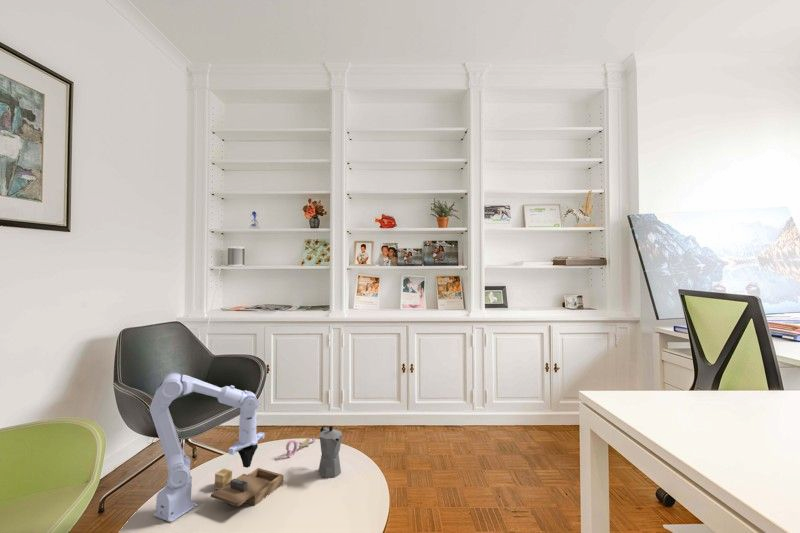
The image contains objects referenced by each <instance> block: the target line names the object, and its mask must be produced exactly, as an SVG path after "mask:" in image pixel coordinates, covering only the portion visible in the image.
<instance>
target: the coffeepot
mask: <svg viewBox="0 0 800 533" xmlns="http://www.w3.org/2000/svg"><path fill="white" fill-rule="evenodd" d="M342 433H343V432H342V430H339V429H336V428H334V426H332V425H329V426H328V427H325V426H324V425H323V426H321V428H320V430H319V435H318V436H319V442H320V452H321V455H320V459H319V460H320V461H319V466H318V476H320V477H321V478H323V479H331V478H333V479H334V478H335V477H338V476H339V475H341V473H342V470H341V463H340V462H341V461H340V460H341V459H340V451H341V444H342V440H343V439H342V438H343V434H342Z"/></svg>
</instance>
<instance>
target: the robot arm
mask: <svg viewBox="0 0 800 533" xmlns="http://www.w3.org/2000/svg"><path fill="white" fill-rule="evenodd" d="M158 383H159V384H158V386H157V389H156V391H155V393H154V396H153V398H152V401H151V403H150V406H149V412H150V415H151V418H152V421H153V424H154V427H155V430H156V433H157V436H158V439H159V442H160V446H161V448H162V452H163V454H164V457H165V460H166V470H167V472H168V475H167V481H166V484H165V486H164V487H163V488H162V489H161V490H160V491H159V492H157V494H156V499H155V500H156V502H155V503H156V505H155V513H154V514H153V516H154V517H156V518H159V519H160V520H161V519H162V520H163V521H167V522H168V523H172V522H173V521H175V520H177V519H179V518H180V517H182V516H183V515H185V514H186V513H188V512H190V511H191V510H193V509H194V508H196V507H197V506H198V503H195V502H194V501H192V487H193V486H192V485H193V483H192V482H193V481H192V480H193V477H192V475H191V465H192V461H191V458H190V457H189V456H187V455H186V453H185V451H184V449H183V448H182V445H181V442H180V439H179V436H178V432H177V430H176V429H177V428H176V426H175V423H174V420H173V417H172V415H171V412H170V409H169V406H170V405H171V404H172V402H173V401H174V400H176V399H177V398H178V397H179V396H180V395H181V394H182V392H183V394H182V395H183V396H185V395H188V394H190V393H194V392H195V393H198V394H203V395H206V396H210V397H214V398H217V401H218V403H220V404H224V405H227V406H229V407H230V406H231V407H233V408H239V409H240V414H239V424H238V426H239V429H238V440H237V441H236V442H235V443H234V444H233V445H232V446H230V447H229V448H228V455H231V456H233V455H235V454H236V453H237V452H238V454H239V456H240V459H241V463H242V466H243V468H247V469H248V468H249V467H251V465H252V461H253V458H254V455H255V453H256V451H257V449H258V448H259V447H258V446H259V444H258V443H259V442H258V441H259V440H264V439H265V432H263V431H262V432H261V431H259V432H258V433H257V424H258V423H257V418H258V414H257V411H258V407H259V405H260V404H259V400H258V398H257V396H256V394H255V393H254V392H252V391H250V390H246V389H245V390H241V389H237V388H235V387H236V386H235V385H232V384H231V385H229V386H228V385H225V386H223V387H219V386H218V385H215V384H211V383H210V382H209V383H208V382H205V381H203V380H201V379H199V378H195V377H192V376H190V375H187V374H180V373H178V372H171V373H168V374H166V375H165V376H164V377H163V379H162V380H161V381H160V382H158Z"/></svg>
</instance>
